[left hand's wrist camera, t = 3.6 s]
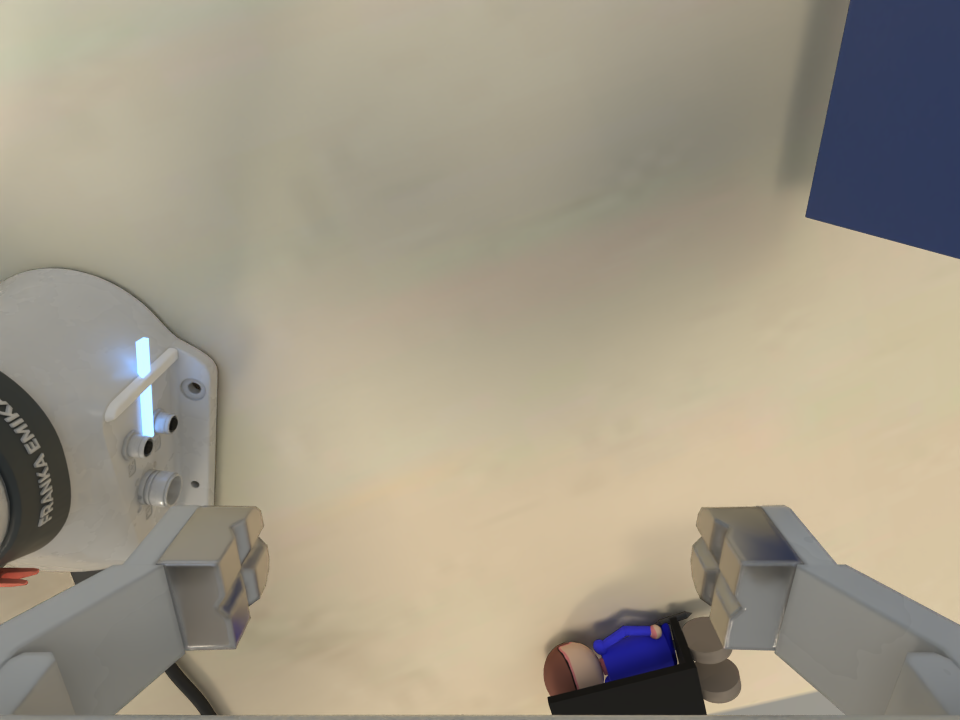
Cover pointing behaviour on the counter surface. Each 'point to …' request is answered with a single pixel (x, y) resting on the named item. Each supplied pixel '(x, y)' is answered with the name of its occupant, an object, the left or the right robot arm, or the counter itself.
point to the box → (894, 126)
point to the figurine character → (643, 671)
